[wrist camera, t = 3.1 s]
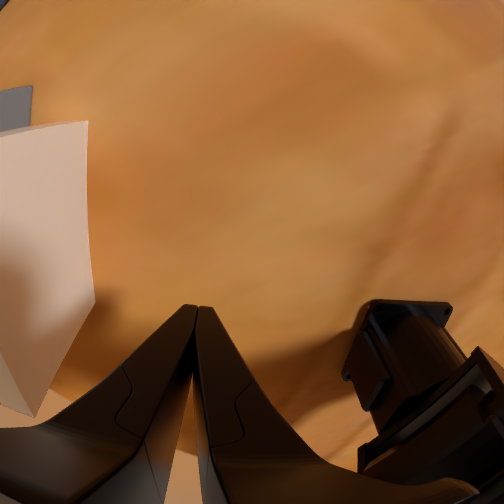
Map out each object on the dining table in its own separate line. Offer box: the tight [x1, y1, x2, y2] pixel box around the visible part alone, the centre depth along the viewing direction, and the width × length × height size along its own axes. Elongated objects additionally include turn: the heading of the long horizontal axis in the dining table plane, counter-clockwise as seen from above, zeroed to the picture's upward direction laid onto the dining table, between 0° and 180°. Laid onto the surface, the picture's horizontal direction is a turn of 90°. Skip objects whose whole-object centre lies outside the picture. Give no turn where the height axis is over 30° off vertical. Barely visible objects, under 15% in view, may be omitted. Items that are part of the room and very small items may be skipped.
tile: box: [0, 121, 96, 418], centre depth 10 cm, size 2×10×8 cm, turn 172°
